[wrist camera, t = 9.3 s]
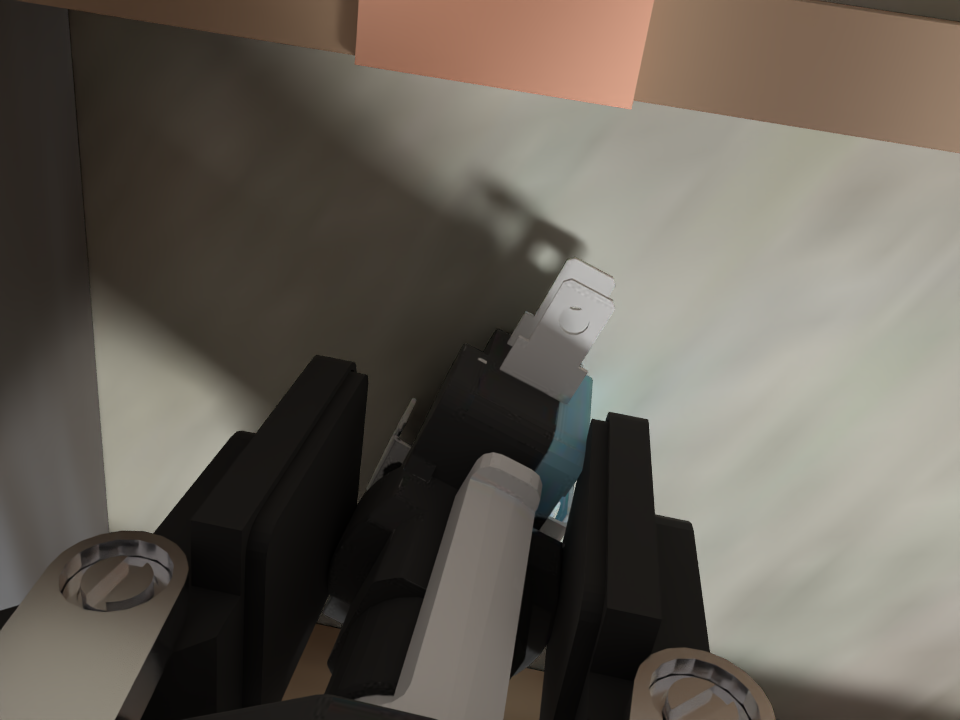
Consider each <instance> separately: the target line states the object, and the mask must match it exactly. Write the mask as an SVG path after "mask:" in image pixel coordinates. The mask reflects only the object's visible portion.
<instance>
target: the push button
mask: <svg viewBox="0 0 960 720" xmlns="http://www.w3.org/2000/svg"><path fill="white" fill-rule="evenodd" d="M614 288H615V282H614V278H613V277H612V276H610V275H608V274H606V273H605V272H603V271H601V270H599V269H597V268H595V267H593V266H592V265H590V264H588V263H586V262H584V261H582V260H580V259H578V258H577V257H573V258H570V259H567V261H566V262H565V264H564V266H563V268H562V269H561V271H560V273H559V274H558V276H557V278H556V280H555V281H554V283H553V285H552V286H551V288H550V290H549V292H548V293H547V295H546V297H545V298H544V300H543V302H542V304H541V305H540V307H539V309H538V310H537V312H536V314H535V315H533V314H531V313H529V312H527V311H525V313H524V314H523V316H522V318H521V320H520V321H519V323H518V325H517V327H516V328H515V330H514V332H513V334H512V335H509V334H507V333H505V332H503V331H502V330H500V329H496V331H495V332H494V334H493V336H492V337H491V339H490V341H489V343H488V344H487V346H486V348H485V350H484V351H483V352H482V351H480V350H478V349H476V348H474V347H472V346H470V345H468V344H464V346H463V347H462V349H461V350H460V352H459V354H458V356H457V358H456V359H455V361H454V363H453V365H452V367H451V368H450V370H449V372H448V374H447V376H446V378H445V380H444V382H443V384H442V386H441V388H440V390H439V392H438V394H437V397H436V399H435V401H434V403H433V405H432V407H431V409H430V411H429V413H428V415H427V417H426V419H425V421H424V423H423V425H422V427H421V429H420V431H419V433H418V435H417V437H416V439H415V441H414V443H413V445H412V446H411V445H409V444H407V443H405V442H403V441H402V440H401V439H400V437H399V436H400V434H401V432H402V430H403V428H404V426H405V424H406V422H407V420H408V418H409V415H410V413H411V411H412V409H413V407H414V405H415V403H416V399H414V398H412V400H411V401H410V403H409V405H408V407H407V409H406V411H405V412H404V414H403V416H402V418H401V420H400V422H399V424H398V426H397V427H396V429H395V431H394V433H393V435H392V437H391V439H390V441H389V443H388V445H387V447H386V449H385V451H384V453H383V455H382V457H381V459H380V461H379V463H378V465H377V467H376V469H375V472H374V474H373V476H372V478H371V480H370V482H369V484H368V486H367V488H366V492H365V494H364V495H363V497H362V498H361V500H360V501H359V503H358V504H357V506H356V508H355V510H354V512H353V514H352V517H351V519H350V521H349V523H348V525H347V527H346V529H345V531H344V533H343V535H342V537H341V539H340V541H339V543H338V545H337V547H336V550H335V552H334V555H333V557H332V559H331V562H330V566H329V572H328V580H327V591H328V593H329V595H330V596H329V598H328V600H327V603H326V605H325V607H324V609H323V614H324V615H326V616H328V617H330V618H332V619H334V620H336V621H338V622H340V623H342V624H343V625H342V627H341V630H340V632H339V634H338V637H337V639H336V642H335V644H334V646H333V649H332V651H331V653H330V656H329V658H328V661H327V666H328V668H329V670H330V672H331V674H332V676H331V678H330V681H329V683H328V686H327V688H326V690H325V693H324V694H319V695H311V696H306V697H301V698H295V699H290V700H285V701H279V702H274V703H268V704H263V705H258V706H252V707H247V708H242V709H236V710H231V711H226V712H220V713H215V714H210V715H204V716H199V717H193V718H188V719H183V720H503V718H504V711H505V705H506V698H507V692H508V685H509V680H510V679H511V678H512V677H513V676H515V675H516V674H518V673H519V672H521V671H522V670H523V669H525V668H526V667H528V666H529V665H530V664H531V663H532V662H533V661H534V660H535V659H536V658H537V657H538V656H539V655H540V654H541V653H542V651H543V650H544V648H545V647H546V645H547V644H548V642H549V640H550V636H551V632H552V629H553V624H554V620H555V616H556V611H557V605H558V599H559V591H560V580H561V569H562V558H563V547H564V546H565V544H564V543H562V542H560V541H561V539H562V538H563V536H564V534H565V530H566V525H567V521H568V517H569V513H570V508H571V504H572V500H573V491H574V483H575V482H576V480H577V479H578V477H579V475H580V474H581V472H582V469H583V463H584V457H585V450H586V440H587V435H588V431H589V427H590V414H591V398H592V383H593V380H592V378H591V377H589V376H587V373H588V371H587V370H585V369H584V368H582V367H580V364H581V363H582V361H583V359H584V358H585V356H586V355H587V353H588V352H589V350H590V348H591V347H592V345H593V344H594V342H595V341H596V339H597V337H598V336H599V334H600V333H601V331H602V330H603V328H604V326H605V325H606V323H607V322H608V320H609V318H610V317H611V315H612V314H613V312H614V311H615V306H614V302H613V300H612V299H610V298H609V296H610V294H611V293H612V291H613V289H614ZM572 307H579V308H580V309H577V308H572ZM559 506H560V508H559ZM558 508H559V511H558V514H557V516H556V518H553V516H554V514H555V512H556V511H557V509H558Z"/></svg>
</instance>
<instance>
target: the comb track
mask: <svg viewBox="0 0 960 720" xmlns="http://www.w3.org/2000/svg"><path fill="white" fill-rule="evenodd" d="M68 9H71V10H78V11H84V12H90V13H96V14H102V15H109V16H115V17H121V18H127V19H133V20H139V21H146V22H152V23H158V24H164V25H170V26H177V27H183V28H189V29H195V30H201V31H207V32H214V33H220V34H226V35H232V36H238V37H245V38H251V39H257V40H263V41H269V42H275V43H282V44H288V45H294V46H300V47H306V48H313V49H319V50H325V51H331V52H337V53H343V54H350V55H355V65H361V66H368V67H374V68H380V69H386V70H392V71H398V72H405V73H411V74H417V75H423V76H429V77H435V78H441V79H448V80H454V81H460V82H466V83H472V84H478V85H485V86H491V87H497V88H503V89H509V90H515V91H521V92H528V93H534V94H540V95H546V96H552V97H558V98H564V99H571V100H577V101H583V102H589V103H595V104H601V105H608V106H614V107H620V108H626V109H632V104H633V100H634V101H640V102H646V103H652V104H659V105H665V106H671V107H677V108H683V109H690V110H696V111H702V112H708V113H714V114H720V115H727V116H733V117H739V118H745V119H751V120H758V121H764V122H770V123H776V124H782V125H788V126H795V127H801V128H807V129H813V130H819V131H826V132H832V133H838V134H844V135H850V136H856V137H863V138H869V139H875V140H881V141H887V142H894V143H900V144H906V145H912V146H918V147H924V148H931V149H937V150H943V151H949V152H955V153H960V22H957V21H950V20H944V19H937V18H930V17H924V16H917V15H911V14H904V13H897V12H891V11H884V10H878V9H871V8H864V7H858V6H851V5H845V4H838V3H831V2H825V1H818V0H0V610H4V609H7V608H10V607H14V606H17V605H20V603H21V602H22V601H23V599H24V598H25V597H26V595H27V594H28V593H29V591H30V590H31V589H32V587H33V586H34V585H35V583H36V582H37V581H38V579H39V578H40V577H41V575H42V574H43V573H44V571H45V570H46V569H47V567H48V566H49V565H50V564H51V563H52V562H53V561H54V560H55V559H56V558H57V557H58V556H59V555H60V554H61V553H62V552H63V551H65V550H66V549H68V548H70V547H71V546H73V545H75V544H77V543H78V542H80V541H82V540H85V539H88V538H91V537H94V536H97V535H100V534H105V533H109V525H108V512H107V500H106V487H105V474H104V462H103V449H102V437H101V424H100V411H99V399H98V386H97V373H96V361H95V348H94V335H93V323H92V310H91V298H90V285H89V272H88V260H87V247H86V234H85V222H84V209H83V197H82V184H81V171H80V159H79V146H78V133H77V121H76V108H75V96H74V83H73V70H72V58H71V45H70V32H69V20H68ZM340 630H341V629H339V628H334V627H329V626H324V625H320V624H316V625H315V627H314V629H313V631H312V634H311V636H310V638H309V640H308V642H307V645H306V647H305V649H304V651H303V653H302V656H301V658H300V660H299V662H298V665H297V667H296V669H295V671H294V673H293V676H292V678H291V680H290V682H289V685H288V687H287V689H286V691H285V693H284V696H283V698H282V700H281V701H285V700H290V699H295V698H301V697H306V696H311V695H319V694H324V693H325V690H326V688H327V686H328V683H329V681H330V678H331V676H332V674H331V672H330V670H329V668H328V666H327V661H328V658H329V656H330V653H331V651H332V649H333V646H334V644H335V642H336V639H337V637H338V634H339V632H340ZM543 678H544V672H543V671H539V670H534V669H529V668H525V669H523V670H522V671H521V672H519V673H518V674H516V675H515V676H513V677H512V678H511V679H510V680H509V685H508V692H507V698H506V705H505V711H504V718H503V720H539V717H540V707H541V698H542V688H543Z"/></svg>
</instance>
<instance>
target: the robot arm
mask: <svg viewBox="0 0 960 720" xmlns="http://www.w3.org/2000/svg"><path fill="white" fill-rule="evenodd" d="M367 391H368V376H367V375H366V374H361V373H357V369H356V364H355V362H351V361H346V360H341V359H336V358H331V357H325V356H320V355H316V356H315V357H314V358H313V359H312V360H311V362H310V363H309V364H308V365H307V367H306V368H305V369H304V371H303V372H302V373H301V375H300V376H299V377H298V379H297V380H296V381H295V383H294V384H293V385H292V387H291V388H290V389H289V391H288V392H287V393H286V395H285V396H284V397H283V398H282V400H281V401H280V402H279V404H278V405H277V406H276V408H275V409H274V410H273V412H272V413H271V414H270V416H269V417H268V418H267V420H266V421H265V422H264V424H263V425H262V426H261V428H260V429H259V430H258V431H257V433H251V432H246V431H237V432H236V433H235V434H234V435H233V436H231V438H230V439H229V440H228V441H227V443H226V444H225V445H224V446H223V448H222V449H221V450H220V451H219V452H218V454H217V455H216V456H215V457H214V459H213V460H212V461H211V462H210V464H209V465H208V466H207V467H206V469H205V470H204V471H203V472H202V474H201V475H200V476H199V477H198V479H197V480H196V481H195V482H194V484H193V485H192V486H191V487H190V489H189V490H188V491H187V492H186V493H185V495H184V496H183V497H182V498H181V500H180V501H179V502H178V503H177V505H176V506H175V507H174V508H173V510H172V511H171V512H170V513H169V515H168V516H167V517H166V518H165V520H164V521H163V522H162V523H161V525H160V526H159V527H158V528H157V530H156V531H155V532H154V533H153V534H152V533H148V532H144V531H118V532H111V533H105V534H100V535H97V536H94V537H91V538H88V539H85V540H82V541H80V542H78V543H77V544H75V545H73V546H71V547H70V548H68V549H66V550H65V551H63V552H62V553H61V554H60V555H59V556H58V557H57V558H56V559H55V560H54V561H53V562H52V563H51V564H50V565H49V566H48V567H47V569H46V570H45V571H44V573H43V574H42V575H41V577H40V578H39V579H38V581H37V582H36V583H35V585H34V586H33V587H32V589H31V590H30V591H29V593H28V594H27V595H26V597H25V598H24V599H23V601H22V602H21V603H20V605H17V606H14V607H10V608H7V609H4V610H0V720H183V719H188V718H193V717H199V716H204V715H210V714H215V713H220V712H226V711H231V710H236V709H242V708H247V707H252V706H258V705H263V704H268V703H274V702H279V701H281V700H282V698H283V696H284V693H285V691H286V689H287V687H288V685H289V682H290V680H291V678H292V676H293V673H294V671H295V669H296V667H297V665H298V662H299V660H300V658H301V656H302V653H303V651H304V649H305V647H306V645H307V642H308V640H309V638H310V636H311V634H312V631H313V629H314V627H315V625H316V622H317V620H318V618H319V616H320V614H321V611H322V609H323V607H324V605H325V602H326V600H327V598H328V596H329V593H328V591H327V580H328V572H329V566H330V562H331V559H332V557H333V555H334V552H335V550H336V547H337V545H338V543H339V541H340V539H341V537H342V535H343V533H344V531H345V529H346V527H347V525H348V523H349V521H350V519H351V517H352V514H353V512H354V510H355V508H356V506H357V498H358V487H359V477H360V466H361V455H362V445H363V434H364V423H365V413H366V402H367ZM563 543H564V544H565V546H564V547H563V558H562V569H561V580H560V591H559V599H558V605H557V611H556V616H555V620H554V624H553V629H552V632H551V636H550V640H549V642H548V644H547V649H546V658H545V668H544V678H543V688H542V698H541V707H540V717H539V720H776V719H775V715H774V711H773V708H772V704H771V703H770V701H769V700H768V698H767V696H766V695H765V693H764V692H763V690H762V688H761V687H760V686H759V685H758V684H757V683H756V682H755V681H754V680H753V679H752V678H751V677H750V676H749V675H748V674H747V673H746V672H745V671H743V670H742V669H740V668H738V667H737V666H735V665H734V664H732V663H731V662H729V661H728V660H726V659H724V658H721V657H719V656H716V655H714V654H711V653H710V649H709V642H708V634H707V627H706V620H705V612H704V605H703V597H702V590H701V582H700V575H699V567H698V560H697V552H696V545H695V537H694V530H693V527H692V524H691V523H690V522H689V521H685V520H680V519H675V518H670V517H665V516H660V515H655V509H654V494H653V480H652V465H651V450H650V436H649V422H648V419H643V418H638V417H633V416H628V415H623V414H618V413H612V412H609V413H608V415H607V418H606V421H601V420H596V419H592V420H591V423H590V427H589V431H588V435H587V440H586V450H585V457H584V463H583V469H582V472H581V474H580V475H579V477H578V479H577V483H576V487H575V491H574V495H573V500H572V504H571V508H570V513H569V517H568V521H567V525H566V530H565V534H564V538H563Z"/></svg>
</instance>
